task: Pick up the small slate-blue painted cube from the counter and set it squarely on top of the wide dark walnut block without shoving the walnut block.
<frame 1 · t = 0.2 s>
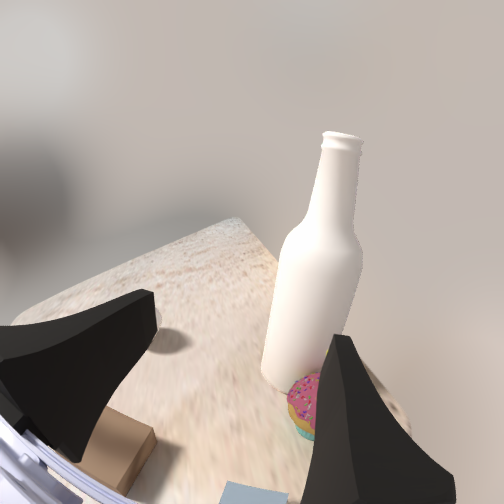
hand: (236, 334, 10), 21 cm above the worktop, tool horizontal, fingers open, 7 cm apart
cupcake: (315, 425, 28), on the worktop
white bottle: (292, 374, 36), on the worktop
walnut base: (109, 453, 21), on the worktop
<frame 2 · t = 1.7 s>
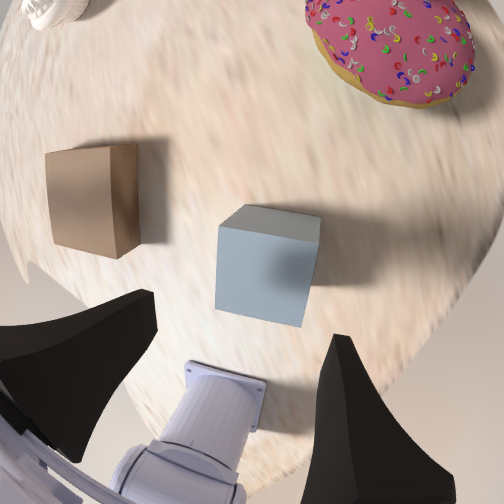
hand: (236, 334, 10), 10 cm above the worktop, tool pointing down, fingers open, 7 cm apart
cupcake: (380, 52, 13), on the worktop
blue cube: (277, 245, 19), on the worktop
muffin: (79, 8, 15), on the worktop
walnut base: (104, 192, 21), on the worktop
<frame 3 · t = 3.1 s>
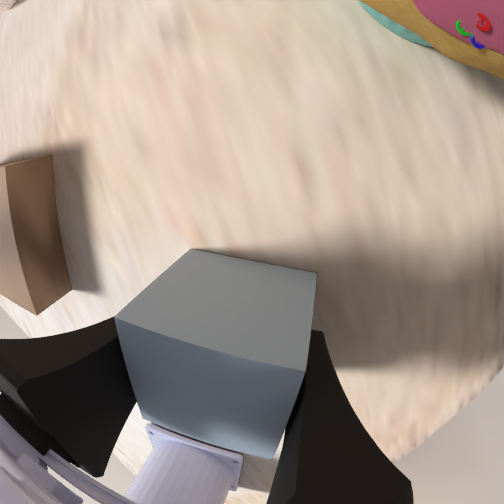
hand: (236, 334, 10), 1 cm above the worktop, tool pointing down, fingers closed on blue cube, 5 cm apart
blue cube: (245, 314, 12), on the worktop, touching gripper
walnut base: (29, 220, 14), on the worktop
when the fingers open (6 cm above the worktop, at t = 6.1 s): blue cube moves 1 cm, resting on walnut base.
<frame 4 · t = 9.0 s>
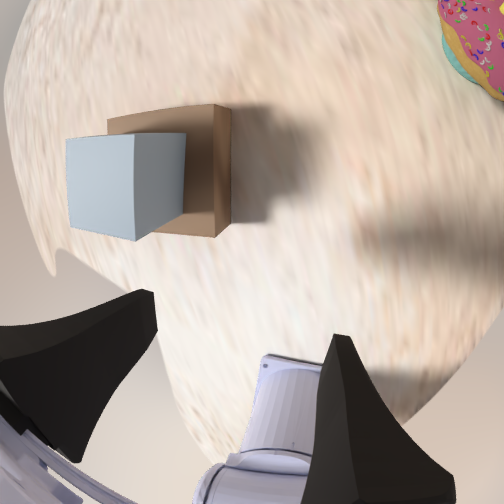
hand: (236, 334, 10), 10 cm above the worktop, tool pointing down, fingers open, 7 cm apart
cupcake: (469, 53, 11), on the worktop
blue cube: (150, 171, 17), point 3 cm above the worktop, touching walnut base
walnut base: (180, 166, 20), on the worktop, touching blue cube
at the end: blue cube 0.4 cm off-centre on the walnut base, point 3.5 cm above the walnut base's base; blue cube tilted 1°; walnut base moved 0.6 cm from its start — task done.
